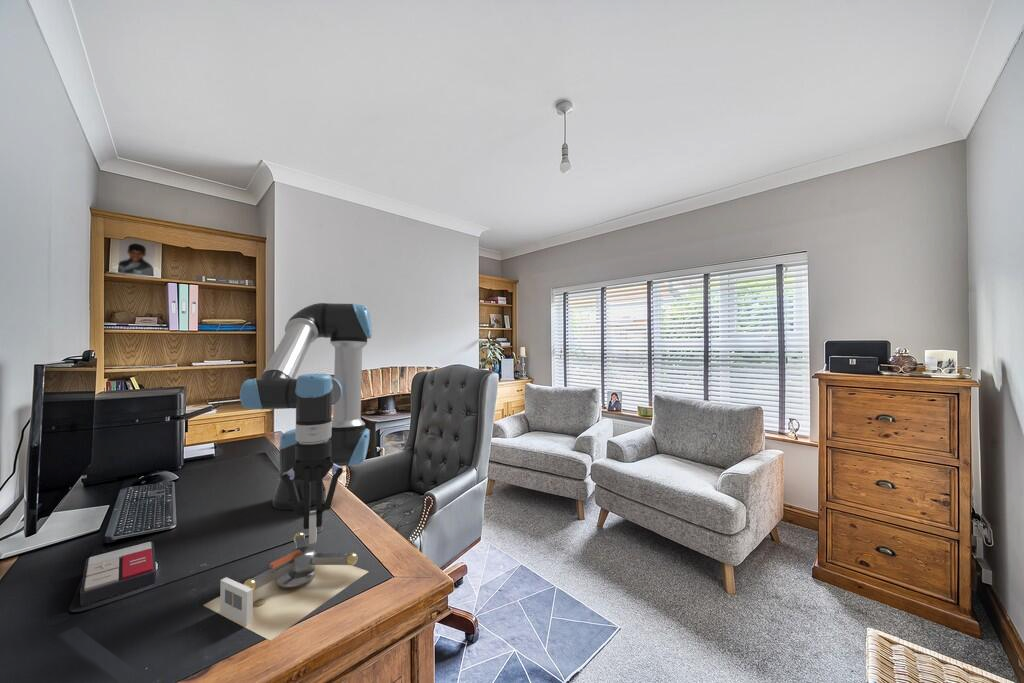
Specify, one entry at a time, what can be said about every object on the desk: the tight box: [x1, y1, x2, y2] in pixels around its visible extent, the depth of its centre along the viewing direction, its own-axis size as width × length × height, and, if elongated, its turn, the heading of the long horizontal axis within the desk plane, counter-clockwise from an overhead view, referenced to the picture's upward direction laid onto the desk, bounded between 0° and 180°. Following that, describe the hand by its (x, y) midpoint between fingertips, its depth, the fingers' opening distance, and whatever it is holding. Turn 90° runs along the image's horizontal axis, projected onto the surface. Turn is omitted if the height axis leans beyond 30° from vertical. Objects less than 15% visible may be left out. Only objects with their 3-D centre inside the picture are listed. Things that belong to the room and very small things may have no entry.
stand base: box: [203, 565, 370, 642], centre depth 80 cm, size 22×20×2 cm
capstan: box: [242, 531, 359, 591], centre depth 85 cm, size 18×21×6 cm
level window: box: [219, 576, 253, 626], centre depth 71 cm, size 1×8×6 cm, turn 65°
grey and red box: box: [79, 541, 158, 606], centre depth 85 cm, size 11×4×15 cm
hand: (312, 540), depth 91 cm, fingers closed
